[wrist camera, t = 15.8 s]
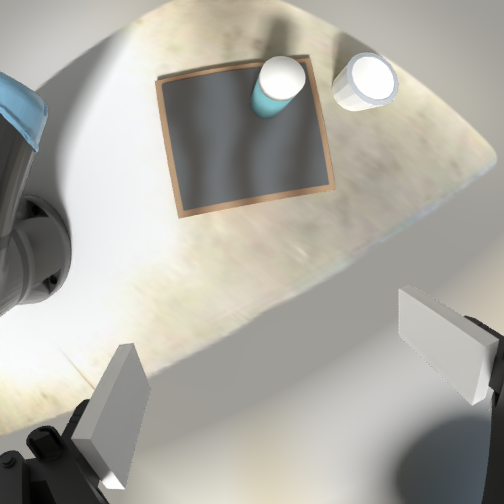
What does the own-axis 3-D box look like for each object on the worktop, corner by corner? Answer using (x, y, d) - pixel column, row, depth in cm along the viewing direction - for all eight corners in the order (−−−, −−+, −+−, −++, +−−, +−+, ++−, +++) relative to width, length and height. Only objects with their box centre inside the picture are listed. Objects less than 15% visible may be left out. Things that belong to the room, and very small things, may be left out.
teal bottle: (255, 122, 36) (269, 101, 26) (245, 92, 35) (254, 61, 25) (287, 113, 36) (311, 90, 26) (276, 84, 35) (296, 52, 25)
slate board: (179, 217, 39) (178, 218, 38) (156, 83, 35) (154, 80, 34) (332, 189, 40) (336, 189, 39) (307, 60, 36) (310, 57, 35)
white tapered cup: (319, 73, 37) (337, 56, 30) (362, 64, 37) (385, 48, 30) (338, 121, 38) (360, 111, 32) (380, 109, 38) (407, 100, 32)
